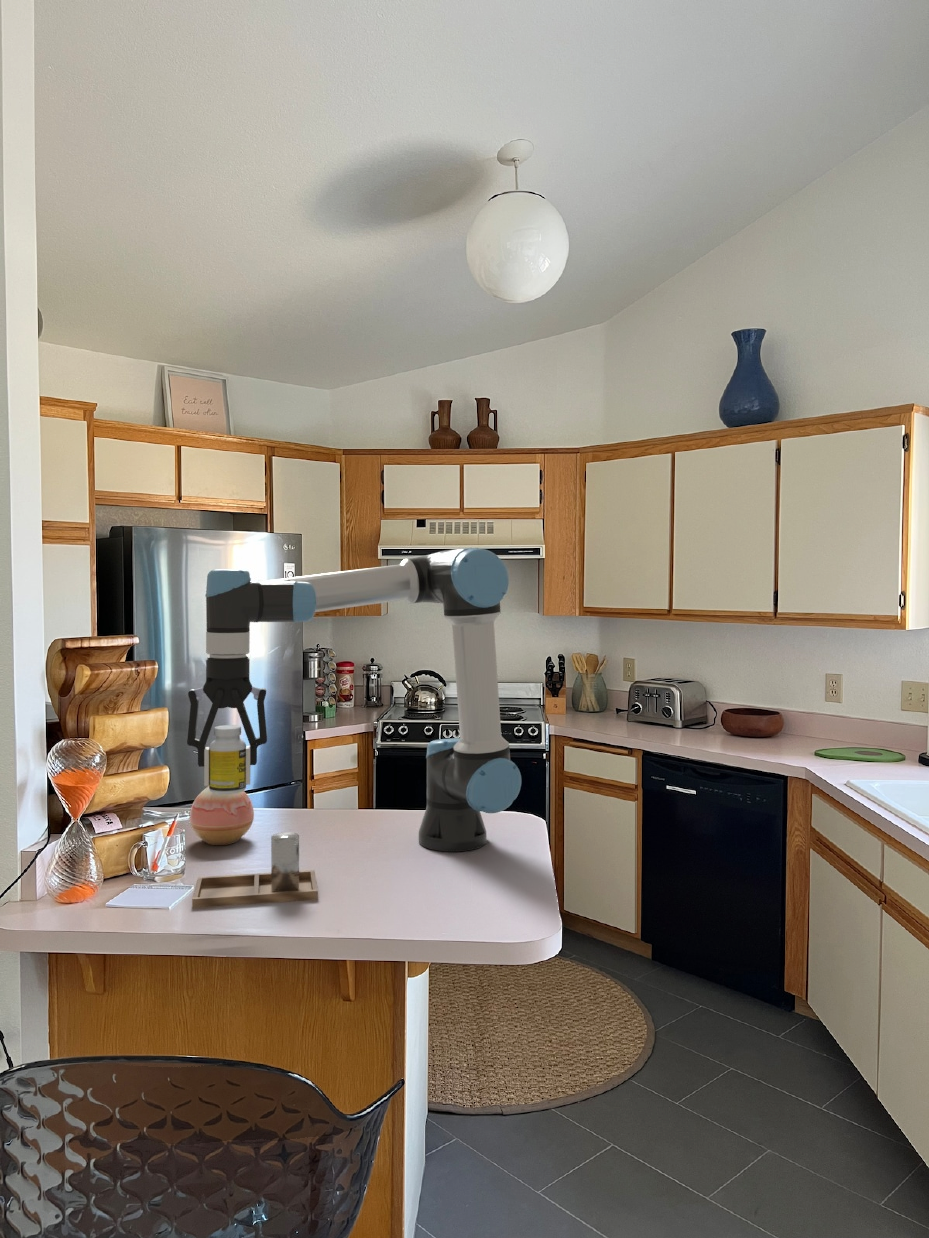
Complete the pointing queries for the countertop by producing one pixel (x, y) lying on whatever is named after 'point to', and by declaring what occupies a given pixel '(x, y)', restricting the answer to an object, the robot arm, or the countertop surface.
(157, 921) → the countertop surface
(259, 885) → the rack
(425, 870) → the countertop surface
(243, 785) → the pill bottle
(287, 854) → the canister
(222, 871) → the countertop surface
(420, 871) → the countertop surface
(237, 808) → the vase
